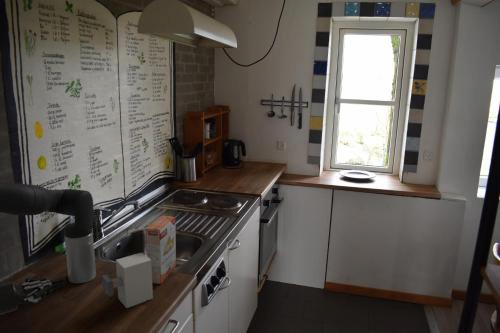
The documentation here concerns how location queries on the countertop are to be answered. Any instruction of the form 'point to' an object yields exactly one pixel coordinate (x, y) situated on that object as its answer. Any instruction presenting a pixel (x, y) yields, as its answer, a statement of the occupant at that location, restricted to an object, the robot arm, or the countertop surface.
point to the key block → (134, 279)
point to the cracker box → (161, 247)
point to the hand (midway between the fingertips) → (65, 281)
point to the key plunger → (110, 284)
